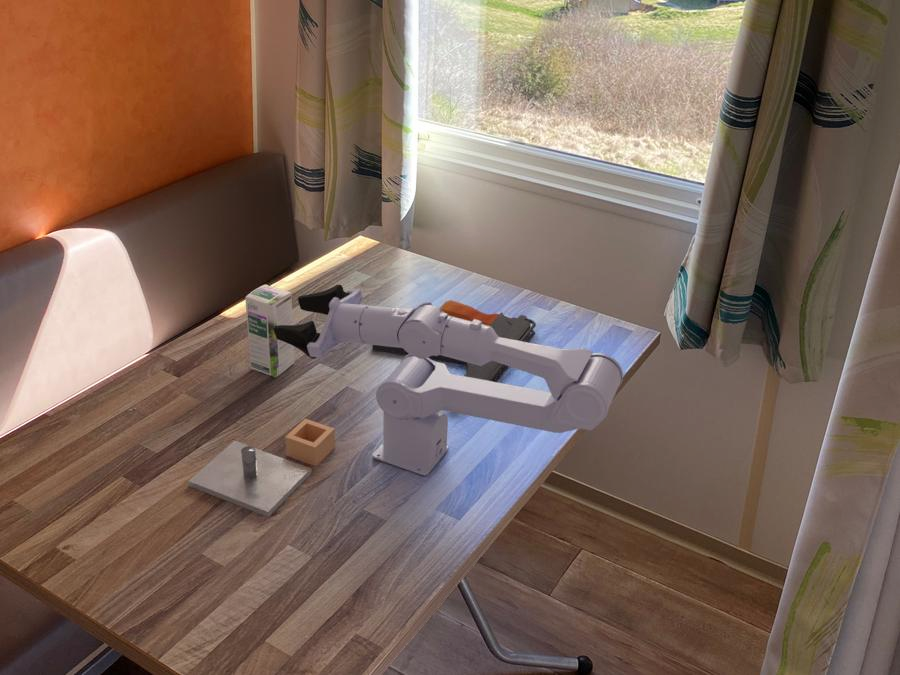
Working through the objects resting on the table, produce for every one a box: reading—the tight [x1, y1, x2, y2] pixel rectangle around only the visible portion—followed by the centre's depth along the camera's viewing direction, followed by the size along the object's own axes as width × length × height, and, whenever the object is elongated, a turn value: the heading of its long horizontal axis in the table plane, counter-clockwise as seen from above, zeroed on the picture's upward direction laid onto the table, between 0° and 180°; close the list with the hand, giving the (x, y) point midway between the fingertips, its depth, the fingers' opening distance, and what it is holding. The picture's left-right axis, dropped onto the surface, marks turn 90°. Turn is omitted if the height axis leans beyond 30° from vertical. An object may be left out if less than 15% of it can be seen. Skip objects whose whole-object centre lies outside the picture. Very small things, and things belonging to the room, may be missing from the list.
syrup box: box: [245, 284, 295, 378], centre depth 167 cm, size 6×6×14 cm
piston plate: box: [188, 440, 312, 518], centre depth 143 cm, size 14×11×6 cm
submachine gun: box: [371, 300, 537, 382], centre depth 177 cm, size 32×3×25 cm
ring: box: [284, 418, 336, 467], centre depth 150 cm, size 5×5×4 cm
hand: (288, 317), depth 148 cm, fingers open, 7 cm apart
